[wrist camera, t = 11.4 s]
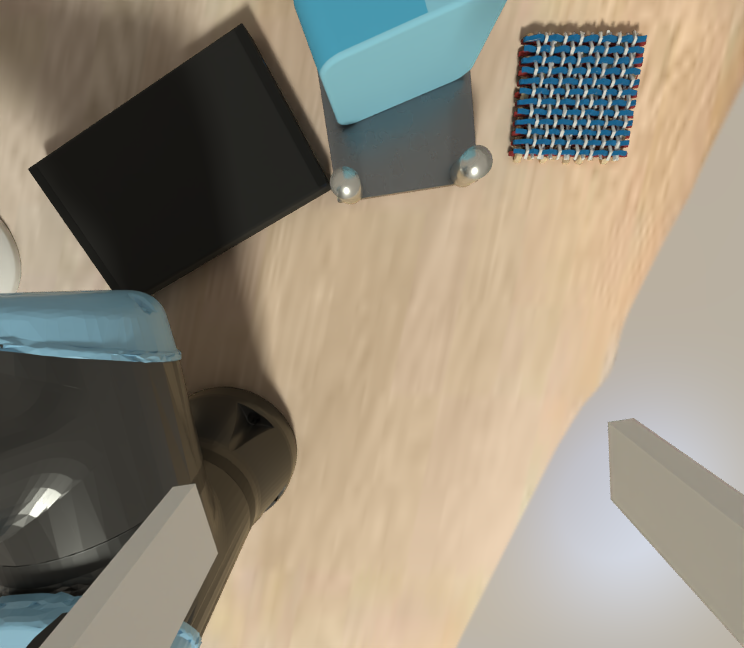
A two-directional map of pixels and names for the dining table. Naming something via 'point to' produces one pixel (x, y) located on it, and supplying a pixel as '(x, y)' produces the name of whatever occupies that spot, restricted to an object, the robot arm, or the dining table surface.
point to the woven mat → (576, 95)
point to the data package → (392, 48)
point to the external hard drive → (183, 169)
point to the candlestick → (8, 262)
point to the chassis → (407, 146)
